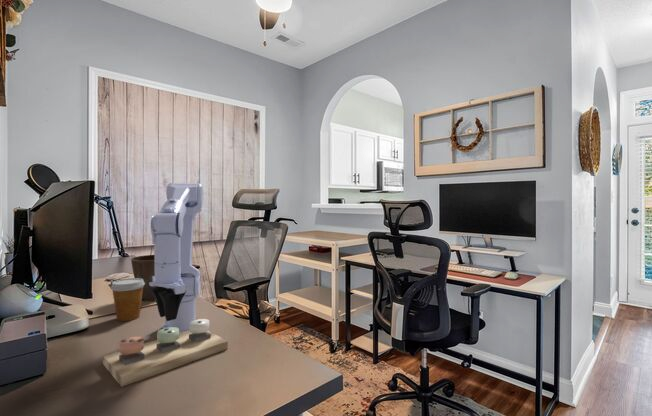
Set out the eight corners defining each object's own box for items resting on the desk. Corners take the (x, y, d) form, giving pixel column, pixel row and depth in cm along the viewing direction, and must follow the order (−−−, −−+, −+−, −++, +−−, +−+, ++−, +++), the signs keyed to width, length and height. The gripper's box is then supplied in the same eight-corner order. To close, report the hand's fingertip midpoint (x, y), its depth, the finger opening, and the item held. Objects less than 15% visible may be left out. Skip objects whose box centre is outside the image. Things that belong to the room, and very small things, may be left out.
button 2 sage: (154, 339, 81) (154, 330, 81) (174, 333, 84) (174, 325, 84) (161, 344, 77) (161, 335, 77) (182, 338, 81) (182, 330, 81)
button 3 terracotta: (116, 349, 75) (116, 340, 75) (139, 343, 78) (139, 334, 78) (123, 356, 71) (123, 346, 71) (147, 349, 75) (147, 340, 75)
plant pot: (168, 290, 140) (168, 253, 140) (179, 298, 129) (178, 257, 129) (128, 297, 131) (127, 256, 131) (135, 306, 119) (135, 262, 119)
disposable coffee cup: (138, 311, 114) (137, 276, 114) (150, 317, 108) (149, 280, 108) (106, 318, 107) (106, 281, 107) (117, 325, 101) (117, 286, 101)
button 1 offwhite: (186, 329, 86) (186, 321, 86) (204, 324, 90) (204, 317, 90) (195, 334, 83) (195, 326, 83) (212, 329, 87) (212, 321, 87)
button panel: (102, 364, 77) (102, 351, 77) (201, 333, 94) (201, 323, 94) (121, 387, 67) (121, 372, 67) (227, 348, 85) (227, 337, 85)
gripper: (139, 260, 82) (139, 314, 83) (162, 268, 72) (162, 330, 73) (168, 257, 88) (168, 308, 88) (193, 264, 78) (193, 321, 78)
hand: (168, 317), depth 81 cm, fingers open, 3 cm apart
